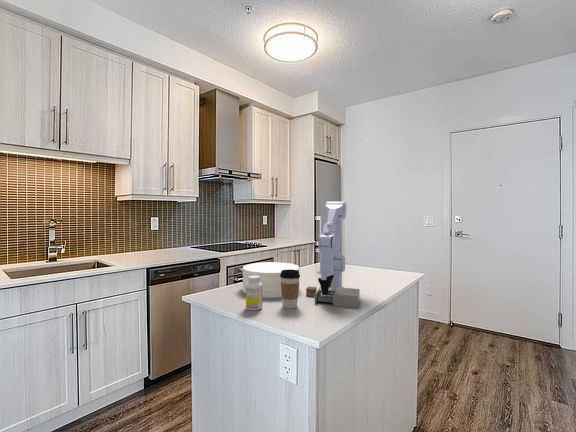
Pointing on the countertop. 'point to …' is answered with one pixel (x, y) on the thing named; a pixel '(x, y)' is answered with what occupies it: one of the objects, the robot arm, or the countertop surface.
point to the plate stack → (267, 276)
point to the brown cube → (310, 291)
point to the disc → (328, 290)
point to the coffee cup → (289, 287)
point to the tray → (323, 297)
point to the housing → (346, 297)
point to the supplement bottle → (253, 293)
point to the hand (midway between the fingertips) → (326, 292)
